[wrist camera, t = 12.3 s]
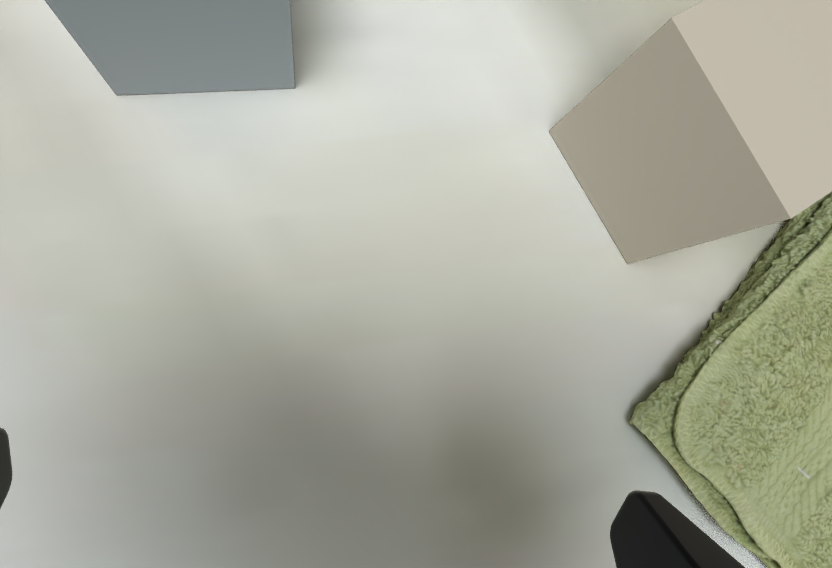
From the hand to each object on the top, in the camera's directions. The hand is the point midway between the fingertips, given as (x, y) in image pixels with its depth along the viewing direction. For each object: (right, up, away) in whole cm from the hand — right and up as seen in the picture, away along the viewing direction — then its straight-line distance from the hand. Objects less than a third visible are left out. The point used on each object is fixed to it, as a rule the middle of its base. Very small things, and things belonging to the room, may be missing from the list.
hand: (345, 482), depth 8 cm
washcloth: (+19, -1, +18) cm, 27 cm away
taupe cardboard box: (+11, +8, +17) cm, 22 cm away
